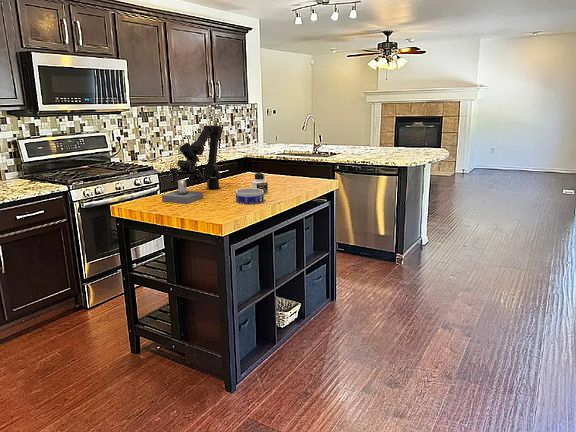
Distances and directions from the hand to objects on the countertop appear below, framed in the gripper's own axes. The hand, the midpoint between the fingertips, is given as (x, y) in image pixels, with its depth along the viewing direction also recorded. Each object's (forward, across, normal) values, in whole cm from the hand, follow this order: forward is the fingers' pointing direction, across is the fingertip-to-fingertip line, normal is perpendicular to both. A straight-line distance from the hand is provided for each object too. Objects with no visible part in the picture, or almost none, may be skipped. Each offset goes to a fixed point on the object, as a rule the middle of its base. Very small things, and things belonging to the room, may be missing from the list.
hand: (180, 185), depth 243 cm
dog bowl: (-2, +37, +14) cm, 39 cm away
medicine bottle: (-17, +33, +29) cm, 47 cm away
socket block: (+5, 0, +7) cm, 8 cm away
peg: (+5, 0, +7) cm, 8 cm away
